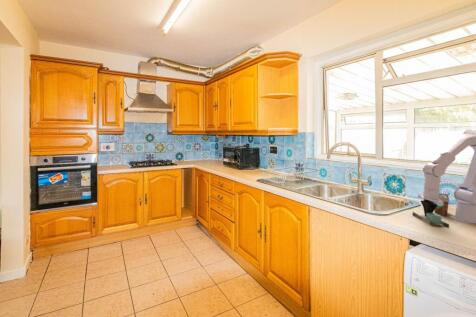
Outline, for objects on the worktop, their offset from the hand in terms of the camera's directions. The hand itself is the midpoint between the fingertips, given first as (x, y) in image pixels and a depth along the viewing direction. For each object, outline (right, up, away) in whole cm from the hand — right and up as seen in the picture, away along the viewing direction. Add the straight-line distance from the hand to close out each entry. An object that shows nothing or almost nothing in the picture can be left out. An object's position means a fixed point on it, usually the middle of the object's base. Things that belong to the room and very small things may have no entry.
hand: (427, 215), depth 119 cm
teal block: (0, -2, -4) cm, 4 cm away
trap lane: (0, -2, -1) cm, 3 cm away
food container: (+15, -2, +12) cm, 19 cm away
